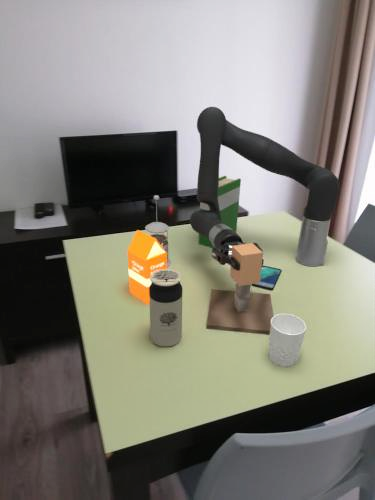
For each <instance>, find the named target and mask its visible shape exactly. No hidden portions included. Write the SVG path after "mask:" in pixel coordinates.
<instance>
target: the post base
mask: <svg viewBox="0 0 375 500" xmlns="http://www.w3.org/2000/svg"><path fill="white" fill-rule="evenodd" d="M251 286H252V284H249V285H243V286H239V285H238V284H237V283H236V282H235V287H234V288H235V290H227V289H217V288H216V289H215V288H211V290H210V295H209V296H210V297H209V304H208V312H207V318H206V319H207V321H206V329H208V330H209V329H210V330H218V331H227V332H228V331H229V332H236V333H237V332H239V333H249V334H256V335H257V334H259V335H270V324H271V319H272V317H273V316H274V309H273V303H272V297H271V296H272V295H271V293H263V292H262V293H261V292H253V291H251Z"/></svg>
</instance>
